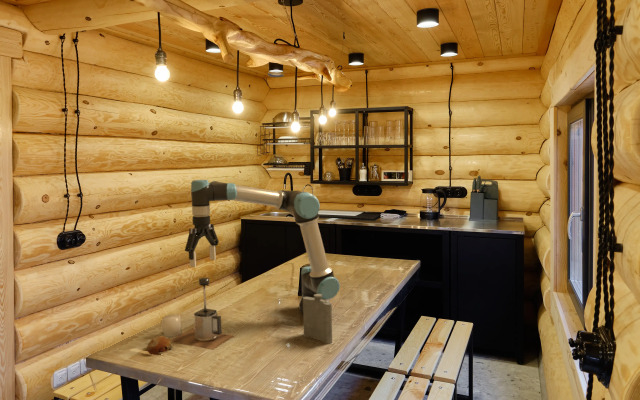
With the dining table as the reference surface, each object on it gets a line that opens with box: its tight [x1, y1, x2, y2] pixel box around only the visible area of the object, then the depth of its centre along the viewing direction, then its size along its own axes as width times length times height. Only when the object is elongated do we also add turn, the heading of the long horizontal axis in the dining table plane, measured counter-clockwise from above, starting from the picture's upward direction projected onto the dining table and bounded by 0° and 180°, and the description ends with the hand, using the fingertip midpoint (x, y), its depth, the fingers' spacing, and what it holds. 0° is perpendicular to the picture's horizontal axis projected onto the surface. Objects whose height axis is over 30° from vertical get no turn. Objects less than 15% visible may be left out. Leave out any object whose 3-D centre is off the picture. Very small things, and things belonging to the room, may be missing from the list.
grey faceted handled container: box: [193, 308, 223, 341], centre depth 219 cm, size 13×10×12 cm
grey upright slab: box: [302, 294, 333, 345], centre depth 218 cm, size 16×4×20 cm, turn 49°
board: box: [170, 327, 235, 351], centre depth 219 cm, size 24×16×1 cm, turn 65°
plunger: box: [198, 277, 213, 317], centre depth 218 cm, size 7×7×18 cm
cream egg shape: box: [160, 314, 182, 338], centre depth 224 cm, size 9×8×9 cm
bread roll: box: [147, 335, 174, 356], centre depth 209 cm, size 10×10×8 cm
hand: (203, 263), depth 216 cm, fingers open, 13 cm apart
